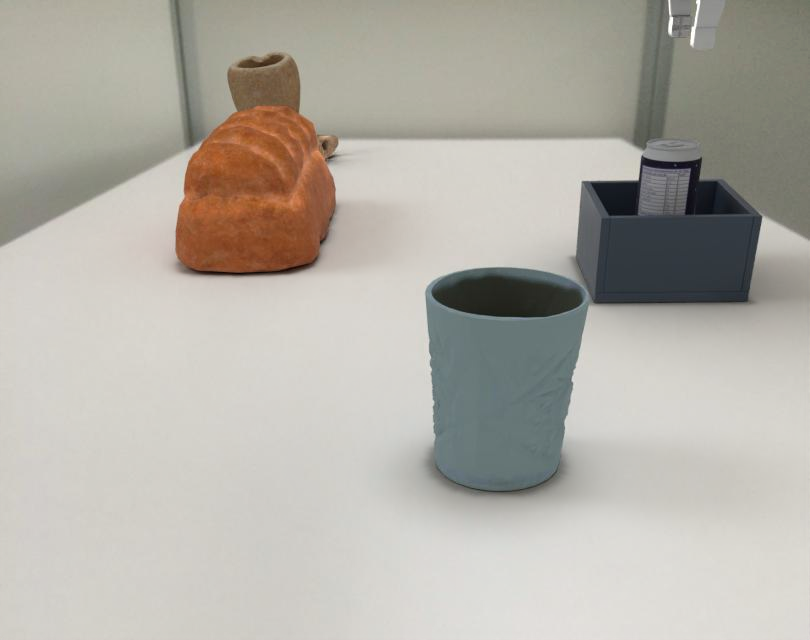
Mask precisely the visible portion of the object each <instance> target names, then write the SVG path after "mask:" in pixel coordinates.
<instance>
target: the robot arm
mask: <svg viewBox="0 0 810 640" xmlns="http://www.w3.org/2000/svg"><path fill="white" fill-rule="evenodd" d="M667 1H668V13H669V17H668V18H669V19H668V28H667V29H668V30H667V33H668V35H669V36H670V37H671V38H674V39H686V38H688V37H689V36H690V40H689V41H690V42H689V45H690V47H691V48H692V49H694V50H695V51H698V52H701V51H702V52H703V51H711V50H713V49H714V47H715V45H716V39H717V30H718V26H719V24H720V21H721V19H722V15H723V12H724V9H725V7H726V1H727V0H696V1H695V4H696V5H697V6H696V11H695V17H694V24H693V25H692V21H693V16H692V2H693V1H692V0H667Z"/></svg>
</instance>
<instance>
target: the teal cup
mask: <svg viewBox="0 0 810 640" xmlns="http://www.w3.org/2000/svg"><path fill="white" fill-rule="evenodd" d="M424 296H425V309H426V325H427V333H428V340H429V341H428V353H429V355H430V360H429V366H430V368H431V371H430V377H431V385H432V386H431V389H432V390H431V393H432V395H431V396H432V401H433V402H434V403H433V405H432V410H433V411H432V413H433V414H432V423H433V433H434V435H435V436H434V442H433V448H434V459H435V463H436V466H437V469H438V470H439V471H440V473H441V474H442V475H443V476H445V477H446V478H447V479H449V480H451V481H452V482H453V483H456V484H458V485H460V486H461V485H462V486H465V487H468V488H471V489H475V490H482V491H492V492H508V491H509V492H510V491H511V492H512V491H519V490H524V489H528V488H532V487H535V486H537V485H539V484H541V483H544V482H545V481H548V480H549V479H550V478H552V476H554V474H555V473H556V472H557V469H558V468H559V465H560V460H561V456H562V449H563V443H564V437H565V434H566V433H565V432H566V425H565V421H566V419H567V417H568V416H569V408H570V405H571V398H572V393H573V391H574V382H573V380H572V379H573V376H574V374H575V373H574V370H576V368H577V363H578V359H579V356H580V350H581V346H582V341H583V335H584V330H585V327H586V321H587V316H588V311H589V306H590V302H591V298H590V297H591V296H590V295H589V290H588V289H586V287H585V286H584V285H583V284H581V283H580V282H578V281H576V280H575V279H572V278H571V277H567V276H566V275H565V276H564V275H561V274H557V273H554V272H550V271H545V270H540V269H539V270H538V269H533V268H527V267H525V268H524V267H515V266H514V267H510V266H490V267H489V266H488V267H487V266H486V267H474V268H467V269H462V270H458V271H457V270H456V271H453V272H451V273H446V274H444V275H441V276H439V277H437V278H436V279H433V280H432V281H431V282H430V283H429V284H428V285H427V286H426V288H425V292H424Z"/></svg>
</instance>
